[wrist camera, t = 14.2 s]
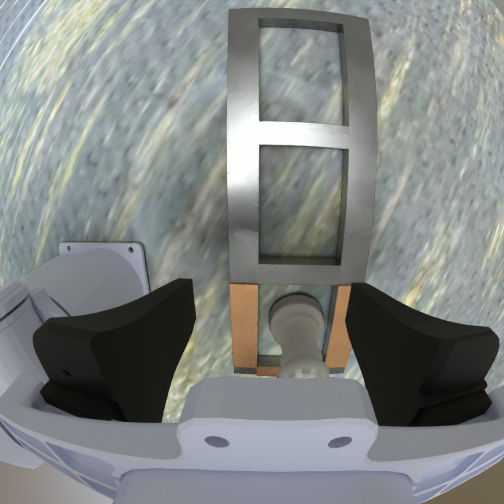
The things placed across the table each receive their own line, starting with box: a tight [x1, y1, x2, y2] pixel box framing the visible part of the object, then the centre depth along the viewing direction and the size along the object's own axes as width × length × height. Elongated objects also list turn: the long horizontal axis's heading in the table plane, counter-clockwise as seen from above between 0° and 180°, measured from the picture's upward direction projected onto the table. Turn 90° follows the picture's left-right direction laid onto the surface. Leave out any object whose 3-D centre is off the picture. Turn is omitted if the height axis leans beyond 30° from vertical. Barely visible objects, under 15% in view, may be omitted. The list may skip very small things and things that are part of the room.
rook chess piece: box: [269, 295, 330, 378], centre depth 18 cm, size 4×4×8 cm
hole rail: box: [227, 8, 377, 376], centre depth 18 cm, size 10×29×2 cm, turn 0°
